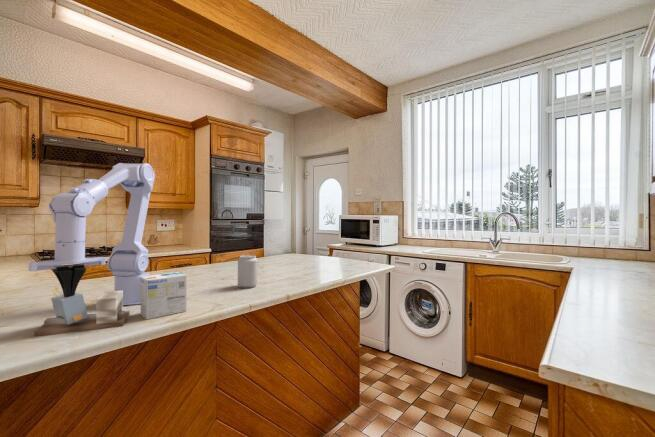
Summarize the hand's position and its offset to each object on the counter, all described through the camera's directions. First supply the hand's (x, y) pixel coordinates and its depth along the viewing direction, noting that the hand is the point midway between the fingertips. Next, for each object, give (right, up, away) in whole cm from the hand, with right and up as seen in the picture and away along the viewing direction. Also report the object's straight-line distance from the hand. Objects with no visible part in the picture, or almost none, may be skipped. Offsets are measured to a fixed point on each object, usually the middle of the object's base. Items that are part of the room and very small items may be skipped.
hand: (69, 297), depth 75 cm
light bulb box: (+17, -8, +12) cm, 22 cm away
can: (+33, -7, +44) cm, 55 cm away
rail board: (+3, -7, +2) cm, 8 cm away
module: (0, -6, +1) cm, 6 cm away
